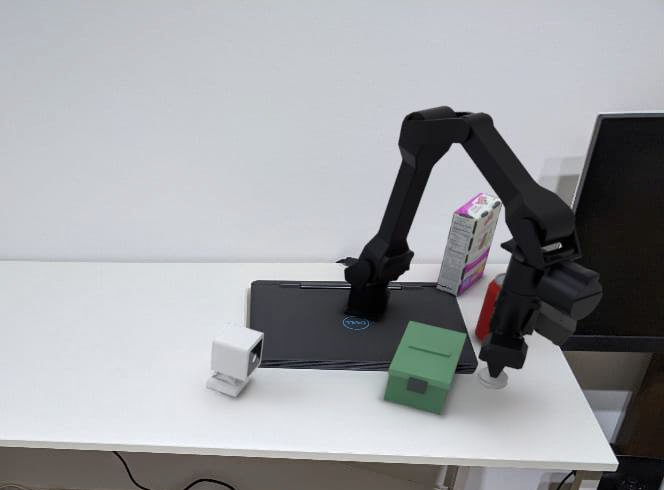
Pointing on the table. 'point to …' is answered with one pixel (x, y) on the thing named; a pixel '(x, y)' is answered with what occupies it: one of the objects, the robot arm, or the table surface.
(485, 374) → the chess piece
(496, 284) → the beverage can
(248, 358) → the security camera
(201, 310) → the table surface
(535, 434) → the table surface
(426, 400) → the box
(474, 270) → the candy bar box
